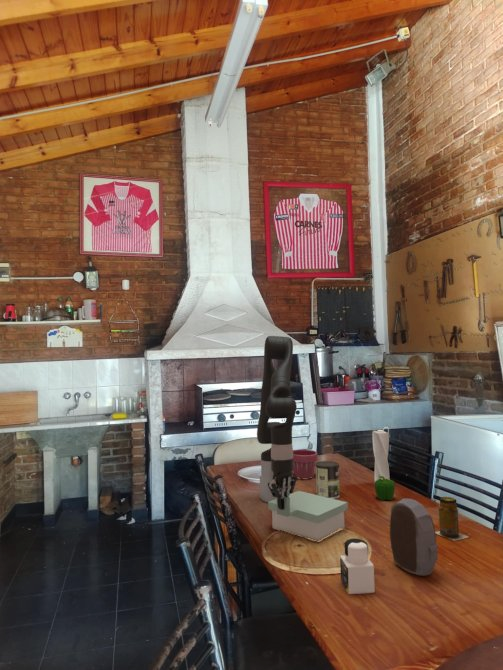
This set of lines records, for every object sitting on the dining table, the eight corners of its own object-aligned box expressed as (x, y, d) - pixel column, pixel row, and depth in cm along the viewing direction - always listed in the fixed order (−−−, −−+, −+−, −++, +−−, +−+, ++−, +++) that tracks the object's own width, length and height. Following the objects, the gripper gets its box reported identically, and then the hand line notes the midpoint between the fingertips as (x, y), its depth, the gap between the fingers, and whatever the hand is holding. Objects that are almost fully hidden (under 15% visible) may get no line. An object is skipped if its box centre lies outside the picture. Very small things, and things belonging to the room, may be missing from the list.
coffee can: (339, 492, 207) (339, 461, 208) (339, 499, 197) (338, 466, 198) (316, 492, 209) (316, 460, 210) (315, 498, 199) (314, 465, 200)
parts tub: (272, 528, 166) (272, 505, 166) (299, 516, 177) (299, 495, 178) (318, 542, 152) (317, 518, 152) (344, 529, 163) (343, 506, 164)
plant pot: (319, 481, 227) (319, 454, 228) (291, 481, 228) (290, 455, 228) (316, 473, 242) (315, 449, 242) (289, 474, 242) (288, 449, 242)
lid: (258, 512, 162) (257, 491, 163) (298, 497, 179) (298, 477, 179) (308, 527, 147) (307, 504, 147) (347, 509, 164) (347, 488, 164)
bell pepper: (393, 496, 201) (392, 472, 201) (397, 502, 193) (396, 477, 193) (373, 495, 202) (372, 472, 202) (376, 501, 193) (375, 477, 194)
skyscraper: (393, 486, 215) (391, 426, 216) (389, 490, 209) (386, 428, 210) (376, 484, 219) (374, 425, 221) (371, 488, 213) (369, 427, 214)
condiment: (448, 529, 162) (447, 494, 162) (469, 537, 154) (467, 501, 155) (433, 533, 158) (432, 497, 159) (453, 541, 151) (452, 504, 151)
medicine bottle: (340, 581, 126) (339, 536, 126) (366, 580, 126) (364, 535, 127) (348, 595, 118) (346, 547, 119) (375, 593, 119) (373, 545, 120)
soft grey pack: (386, 561, 137) (384, 493, 138) (408, 556, 140) (406, 489, 141) (423, 584, 123) (421, 508, 124) (447, 577, 127) (444, 503, 128)
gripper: (286, 451, 164) (287, 501, 163) (260, 458, 154) (261, 511, 153) (303, 454, 159) (304, 505, 158) (277, 461, 149) (278, 516, 148)
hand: (283, 508), depth 155 cm, fingers closed on lid, 1 cm apart
